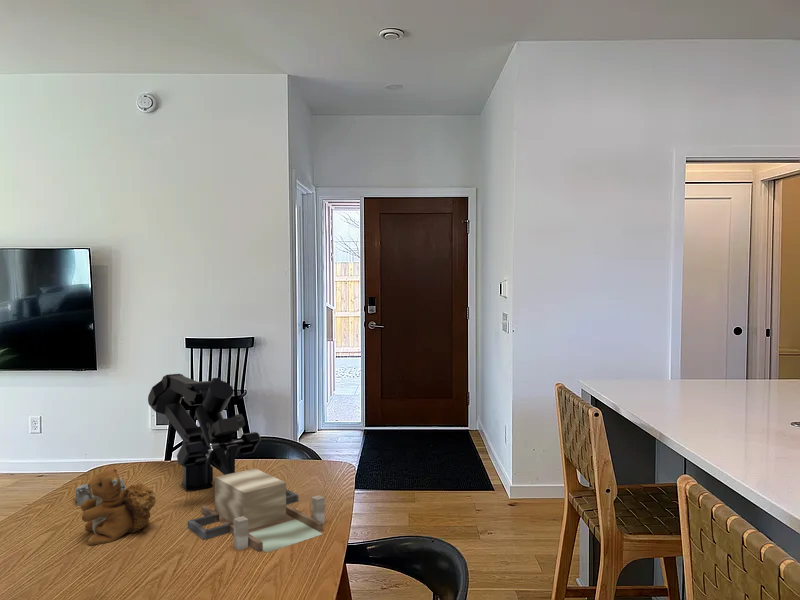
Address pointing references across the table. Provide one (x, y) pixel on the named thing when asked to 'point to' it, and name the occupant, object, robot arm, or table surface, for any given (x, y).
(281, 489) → the maple block
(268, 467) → the table surface
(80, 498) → the egg carton
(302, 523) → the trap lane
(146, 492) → the stuffed squirrel
